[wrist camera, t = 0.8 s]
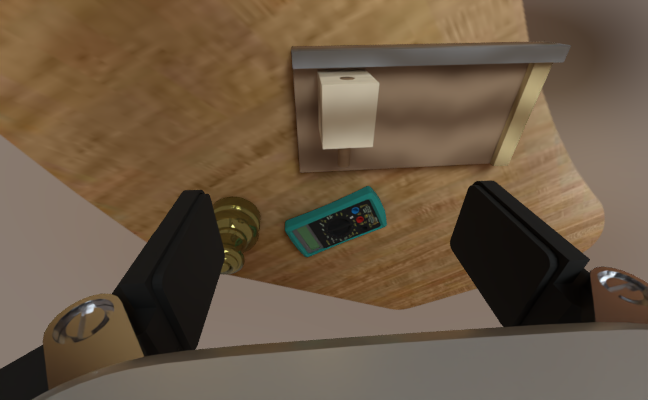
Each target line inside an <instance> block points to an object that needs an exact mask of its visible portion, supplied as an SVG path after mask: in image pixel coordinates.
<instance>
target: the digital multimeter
mask: <svg viewBox="0 0 648 400" xmlns="http://www.w3.org/2000/svg"><path fill="white" fill-rule="evenodd" d="M347 207H348V208H347ZM340 210H341V211H340ZM335 212H336V213H335ZM328 215H329V216H328ZM323 217H324V218H323ZM316 220H317V221H316ZM386 225H387V222H386V214H385V210H384V208H383V205H382V203H381V201H380V199H379V197H378V196H377V194H376V193H375V192H374V191H373V189H372V188H371V187H370V186H366V187H364V188H362V189H360V190H358V191H356V192H354V193H352V194H350V195H348V196H345V197H343V198H341V199H339V200H337V201H334V202H332V203H330V204H327V205H325V206H323V207H320V208H318V209H315V210H313V211H311V212H308V213H305V214H303V215H300V216H297V217H295V218H292V219H289V220H287V221H286V222H285V231H286V233H287V235H288V236H289V238H290V239H291V241H292V242H293V244H294V245H295V246H296V248H297V249H298V250H299V251H300V252H301V253H302V254H303V255H304V256H305V257H310V256H312V255H314V254H317V253H319V252H321V251H324V250H326V249H329V248H331V247H334V246H336V245H339V244H341V243H344V242H346V241H349V240H351V239H354V238H357V237H359V236H362V235H364V234H367V233H370V232H372V231H375V230H378V229H381V228H383V227H385V226H386Z"/></svg>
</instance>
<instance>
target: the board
mask: <svg viewBox="0 0 648 400" xmlns="http://www.w3.org/2000/svg"><path fill="white" fill-rule="evenodd" d="M569 49H570V45H564V44H557V43H551V42H497V43H447V44H397V45H347V46H297V47H292V51H291V52H292V66H293V76H294V91H295V105H296V120H297V135H298V149H299V164H300V173H304V172H325V171H345V170H365V169H385V168H406V167H426V166H446V165H466V164H487V163H490V164H491V165H493V166H508V164H509V162H510V160H511V157H512V155H513V153H514V150H515V148H516V146H517V144H518V141H519V139H520V137H521V134H522V132H523V130H524V128H525V125H526V123H527V121H528V119H529V116H530V114H531V112H532V109H533V107H534V105H535V103H536V100H537V98H538V96H539V94H540V91H541V89H542V87H543V84H544V82H545V80H546V77H547V75H548V73H549V70H550V68H551V66H552V64H553V62H564V60H565V58H566V55H567V53H568V51H569ZM364 69H365V70H366V71H367V72H368V73H369V74H370V75H371V76H373V77H374V78H375V79H376V80H377V81H378V82H379V92H378V102H377V111H376V121H375V130H374V140H373V147H363V148H351V154H350V166H348V167H339V166H338V165H337V161H338V149H323V148H322V143H321V137H320V132H319V123H318V73H317V71H325V70H364Z"/></svg>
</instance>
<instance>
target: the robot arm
mask: <svg viewBox="0 0 648 400" xmlns="http://www.w3.org/2000/svg"><path fill="white" fill-rule="evenodd" d="M450 246H451V249H452V251H453V252H454V254H455V255H456V257H457V258H458V260H459V261H460V263H461V264H462V266H463V267H464V269H465V270H466V272H467V273H468V275H469V276H470V278H471V279H472V281H473V282H474V284H475V285H476V287H477V289H478V290H479V291H480V293H481V294H482V296H483V297H484V299H485V301H486V302H487V303H488V305H489V306H490V308H491V310H492V311H493V313H494V314H495V316H496V317H497V319H498V320H499V322H500V323H501V324H502V326H503V327H498V328H484V329H466V330H452V331H436V332H421V333H406V334H393V335H378V336H364V337H349V338H335V339H322V340H308V341H294V342H281V343H269V344H268V343H267V344H255V345H242V346H232V347H220V348H210V349H199V350H195V349H196V347H197V345H198V342H199V339H200V336H201V333H202V329H203V326H204V323H205V320H206V317H207V314H208V310H209V307H210V304H211V301H212V298H213V294H214V292H215V288H216V285H217V282H218V279H219V276H220V273H221V269H222V266H223V263H224V259H225V251H224V247H223V243H222V239H221V236H220V232H219V228H218V224H217V220H216V217H215V213H214V209H213V205H212V201H211V198H210V195H209V194H205V193H204V192H203V190H185V191H183V192H182V193H181V195H180V196H179V198H178V199H177V201H176V202H175V204H174V205H173V207H172V208H171V209H170V211H169V212H168V214H167V215H166V217H165V218H164V220H163V221H162V223H161V224H160V225H159V227H158V228H157V230H156V231H155V232H154V233H153V235H152V236H151V238H150V239H149V241H148V242H147V244H146V245H145V246H144V248H143V249H142V251H141V252H140V254H139V255H138V257H137V258H136V260H135V261H134V263H133V264H132V265H131V267H130V268H129V270H128V271H127V273H126V274H125V276H124V277H123V278H122V280H121V281H120V283H119V284H118V286H117V287H116V288H115V290H114V292H113V293H112V294H98V295H93V296H89V297H87V298H84V299H82V300H79V301H78V302H76V303H74V304H72V305H70V306H69V307H67V308H66V309H65V310H63V311H62V312H61V313H60V314H58V315H57V316H56V317H55V318H54V320H53V321H52V322H51V323H50V324H49V325H48V327H47V329H46V331H45V332H44V337H43V345H42V346H40V347H38V348H36V349H35V350H33V351H31V352H29V353H28V354H26V355H24V356H23V357H21V358H19V359H17V360H16V361H14V362H12V363H10V364H8V365H7V366H5V367H3V368H1V369H0V400H648V283H647V282H645V281H644V280H642V279H640V278H638V277H636V276H634V275H632V274H630V273H627V272H625V271H623V270H619V269H616V268H612V267H604V266H601V267H596V268H594V269H592V270H591V271H590V272H588V271H586V270H585V269H584V267H585V266H586V264H587V263H588V262H589V260H590V259H589V258H588V257H586V256H585V255H584V254H583V253H582V252H580V251H579V250H578V249H577V248H575V247H574V246H573V245H572V244H571V243H569V242H568V241H567V240H566V239H564V238H563V237H562V236H561V235H560V234H558V233H557V232H556V231H555V230H554V229H552V228H551V227H550V226H549V225H547V224H546V223H545V222H544V221H543V220H541V219H540V218H539V217H538V216H536V215H535V214H534V213H533V212H532V211H530V210H529V209H528V208H527V207H525V206H524V205H523V204H522V203H521V202H519V201H518V200H517V199H516V198H514V197H513V196H512V195H511V194H510V193H508V192H507V191H506V190H505V189H504V188H502V187H501V186H500V185H499V184H497V183H496V182H495V181H476V182H475V183H474V184H473V185H471V186H470V187H469V188H468V191H467V194H466V196H465V199H464V202H463V205H462V208H461V211H460V214H459V217H458V220H457V223H456V226H455V228H454V231H453V234H452V237H451V240H450Z"/></svg>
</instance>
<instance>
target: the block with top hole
mask: <svg viewBox="0 0 648 400" xmlns="http://www.w3.org/2000/svg"><path fill="white" fill-rule="evenodd" d="M317 73H318V123H319V132H320V137H321V143H322V148H323V149H338V161H337V165H338V166H339V167H348V166H350V154H351V148H363V147H373V140H374V130H375V121H376V111H377V102H378V92H379V82H378V81H377V80H376V79H375V78H374V77H373V76H371V75H370V74H369V73H368V72H367V71H366V70H365V69H364V70H325V71H317Z"/></svg>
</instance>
